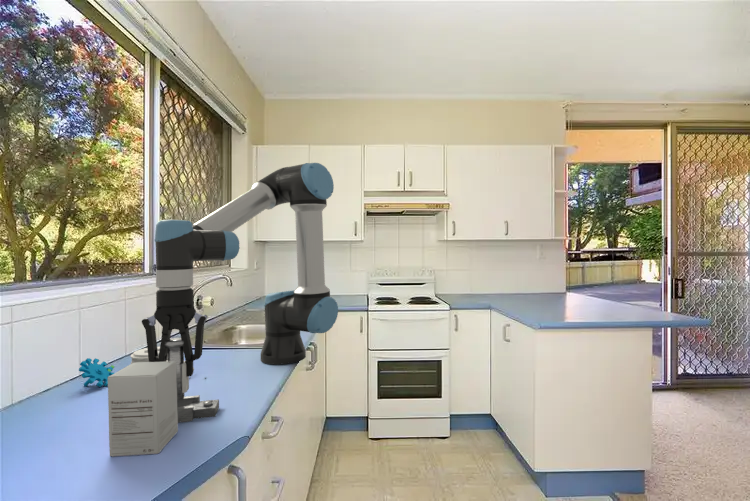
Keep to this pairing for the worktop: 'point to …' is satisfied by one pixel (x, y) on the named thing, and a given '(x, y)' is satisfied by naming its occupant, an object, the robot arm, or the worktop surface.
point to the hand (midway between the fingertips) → (176, 391)
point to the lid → (142, 355)
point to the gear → (95, 371)
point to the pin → (176, 355)
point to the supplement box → (142, 408)
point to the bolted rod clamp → (196, 408)
